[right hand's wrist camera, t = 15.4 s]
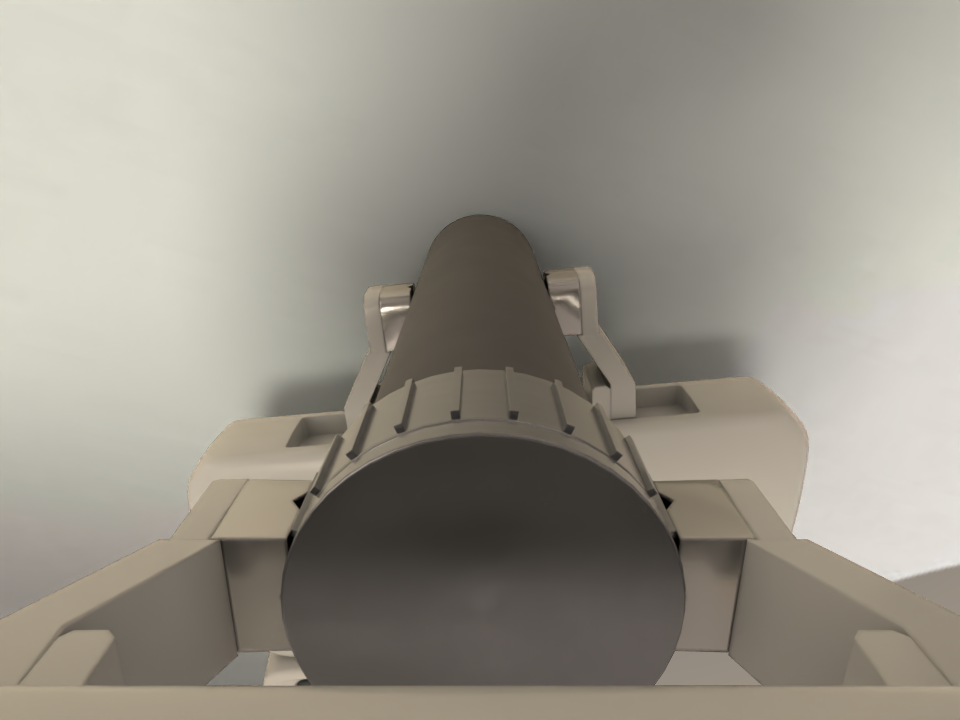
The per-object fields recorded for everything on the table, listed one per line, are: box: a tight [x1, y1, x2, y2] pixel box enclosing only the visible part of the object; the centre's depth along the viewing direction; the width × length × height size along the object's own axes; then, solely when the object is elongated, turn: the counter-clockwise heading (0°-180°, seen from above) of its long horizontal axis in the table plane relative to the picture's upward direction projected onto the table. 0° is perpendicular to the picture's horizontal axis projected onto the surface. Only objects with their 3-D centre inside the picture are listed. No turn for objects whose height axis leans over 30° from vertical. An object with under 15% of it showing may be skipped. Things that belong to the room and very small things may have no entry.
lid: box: [281, 366, 686, 686], centre depth 9 cm, size 5×5×2 cm
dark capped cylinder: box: [375, 215, 589, 403], centre depth 18 cm, size 4×4×19 cm
